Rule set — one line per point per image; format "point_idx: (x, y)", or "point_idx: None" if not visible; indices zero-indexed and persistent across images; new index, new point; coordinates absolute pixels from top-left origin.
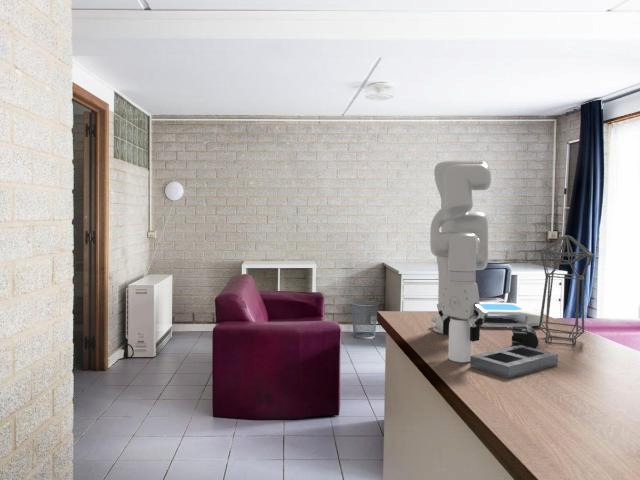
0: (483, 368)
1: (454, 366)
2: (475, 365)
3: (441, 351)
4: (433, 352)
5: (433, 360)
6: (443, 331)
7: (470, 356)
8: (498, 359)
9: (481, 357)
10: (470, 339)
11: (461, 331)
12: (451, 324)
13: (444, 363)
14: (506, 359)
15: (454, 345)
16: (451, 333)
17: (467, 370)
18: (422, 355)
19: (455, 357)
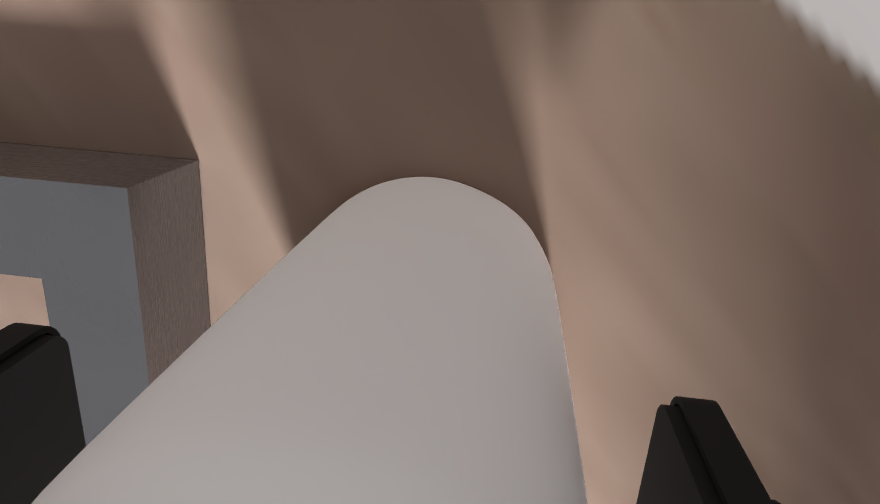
0: (18, 150)
1: (299, 29)
2: (112, 159)
3: (779, 424)
4: (832, 326)
5: (623, 29)
6: (721, 434)
7: (128, 184)
8: None
9: (13, 231)
10: (28, 334)
11: (138, 399)
12: (359, 464)
13: (449, 35)
14: None
15: (368, 232)
16: (402, 321)
17: (120, 20)
18: (872, 105)
19: (386, 189)
